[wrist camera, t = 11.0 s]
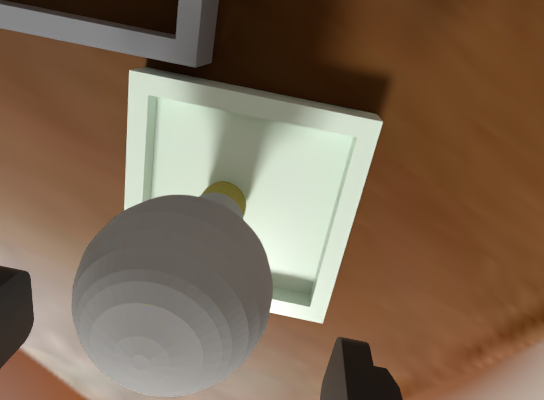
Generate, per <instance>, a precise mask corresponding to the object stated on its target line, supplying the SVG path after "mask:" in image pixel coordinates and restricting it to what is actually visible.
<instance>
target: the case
mask: <svg viewBox="0 0 544 400" xmlns="http://www.w3.org/2000/svg"><path fill="white" fill-rule="evenodd" d="M218 4H219V0H179V1H178V14H177V27H176V35H174V34H169V33H164V32H159V31H154V30H150V29H145V28H140V27H135V26H130V25H125V24H120V23H115V22H110V21H105V20H100V19H95V18H90V17H85V16H80V15H75V14H70V13H65V12H60V11H55V10H51V9H46V8H41V7H36V6H31V5H26V4H21V3H16V2H11V1H6V0H0V28H3V29H8V30H12V31H17V32H22V33H27V34H32V35H37V36H42V37H47V38H52V39H57V40H62V41H67V42H72V43H76V44H81V45H86V46H91V47H96V48H101V49H106V50H111V51H116V52H121V53H126V54H131V55H136V56H140V57H145V58H150V59H155V60H160V61H165V62H170V63H175V64H180V65H185V66H190V67H195V68H196V67H199V66H203V65H206V64H210V63H212V56H213V47H214V38H215V30H216V21H217V13H218Z"/></svg>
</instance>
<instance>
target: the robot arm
mask: <svg viewBox="0 0 544 400" xmlns="http://www.w3.org/2000/svg"><path fill="white" fill-rule="evenodd" d="M33 321H34V314H33V302H32V289H31V278H30V275H29V273H28V272H27V271H23V270H18V269H13V268H8V267H3V266H0V368H1V367H2V366H3V365H4V364H5V363H6V362H7V361H8V359H10V357H11V356H12V355H13V354H14V353H15V352H16V351H17V350H18V349H19V348H20V346H21V345H22V344H23V343H24V342H25V340H26V339H27V337H28V336H29V334H30V332H31V329H32V326H33ZM320 400H402V396H401V392H400V388H399V386H398V385H397V383H396V382H395V380H394V379H393V377H392V376H391V374H390V373H389V371H388V370H387V369H386V368H381V367H376V366H373V361H372V356H371V351H370V346H369V344H368V343H367V342H363V341H358V340H353V339H348V338H343V337H338V338H337V340H336V342H335V345H334V348H333V351H332V354H331V357H330V360H329V363H328V366H327V369H326V373H325V376H324V379H323V383H322V388H321V396H320Z"/></svg>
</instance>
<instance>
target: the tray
mask: <svg viewBox="0 0 544 400" xmlns="http://www.w3.org/2000/svg"><path fill="white" fill-rule="evenodd" d="M382 123H383V121H382V120H381V119H380V117H379V116H378V115H377V114H374V113H369V112H364V111H360V110H355V109H350V108H345V107H340V106H335V105H330V104H325V103H320V102H315V101H310V100H306V99H301V98H296V97H291V96H286V95H281V94H276V93H271V92H266V91H261V90H256V89H251V88H247V87H242V86H237V85H232V84H227V83H222V82H217V81H212V80H207V79H202V78H197V77H192V76H188V75H183V74H178V73H173V72H168V71H163V70H158V69H153V68H148V67H142V68H137V69H132V70H129V92H128V120H127V148H126V176H125V204H124V210H126V209H128V208H130V207H132V206H135V205H137V204H139V203H142V202H144V201H147V200H149V199H153V198H156V197H160V196H165V195H191V196H197V197H199V196H200V195H202V193H203V192H204V190H205V189H206V188H207V187H208V186H210V185H211V184H213V183H215V182H219V181H226V182H230V183H232V184H234V185H236V186H237V187H238V188H239V189H240V190H241V191H242V192H243V194H244V196H245V199H246V210H245V215H244V217H243V220H244V221H245V222H246V223H247V224H248V225H249V226H250V227H251V228H252V230H253V231H254V232H255V233H256V235H257V236H258V238H259V239H260V241H261V243H262V245H263V247H264V249H265V252H266V254H267V258H268V262H269V266H270V270H271V275H272V281H273V297H272V302H271V308H270V313H275V314H280V315H284V316H289V317H294V318H299V319H303V320H308V321H313V322H318V323H322V324H323V321H324V317H325V314H326V311H327V307H328V304H329V301H330V297H331V294H332V290H333V287H334V284H335V280H336V277H337V274H338V270H339V267H340V264H341V260H342V257H343V254H344V250H345V247H346V244H347V240H348V237H349V234H350V230H351V227H352V224H353V220H354V217H355V214H356V210H357V207H358V204H359V200H360V197H361V194H362V190H363V187H364V184H365V180H366V177H367V174H368V170H369V167H370V164H371V160H372V157H373V154H374V150H375V147H376V144H377V140H378V137H379V133H380V130H381V127H382Z"/></svg>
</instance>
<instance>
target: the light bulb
mask: <svg viewBox="0 0 544 400" xmlns="http://www.w3.org/2000/svg"><path fill="white" fill-rule="evenodd" d="M245 210H246V199H245V196H244V194H243V192H242V191H241V190H240V189H239V188H238V187H237V186H236V185H234V184H232V183H230V182H226V181H219V182H215V183H213V184H211V185H210V186H208V187H207V188H206V189H205V190H204V192H203V193H202V195H200V196H199V197H197V196H191V195H165V196H160V197H156V198H153V199H149V200H147V201H144V202H142V203H139V204H137V205H135V206H132V207H130V208H128V209H126V210H124V211H123V212H121V213H120V214H118V215H117V216H116V217H114V218H113V219H112V220H111V221H110V222H109V223H108V224H107V225H106V226H105V227H104V228H103V229H102V230H101V231H100V232H99V233H98V234H97V235H96V236H95V237H94V238H93V240H92V241H91V242H90V244H89V245H88V247H87V248H86V250H85V252H84V254H83V256H82V259H81V262H80V265H79V267H78V270H77V273H76V276H75V279H74V285H73V294H72V316H73V321H74V325H75V328H76V331H77V334H78V338H79V340H80V343H81V345H82V347H83V349H84V351H85V352H86V354H87V356H88V357H89V358H90V360H91V361H92V362H93V363H94V364H95V366H96V367H97V368H98V369H99V370H100V371H101V372H102V373H103V374H105V375H106V376H107V377H108V378H110V379H111V380H112V381H114V382H116V383H117V384H119V385H121V386H123V387H125V388H127V389H130V390H132V391H134V392H137V393H141V394H145V395H149V396H158V397H176V396H183V395H189V394H192V393H195V392H198V391H201V390H203V389H206V388H208V387H211V386H213V385H215V384H217V383H219V382H221V381H222V380H224V379H225V378H227V377H228V376H229V375H230V374H231V373H233V372H234V371H235V370H236V369H237V368H238V367H239V366H240V365H241V364H242V363H243V362H244V361H245V360H246V359H247V358H248V356H249V355H250V354H251V352H252V351H253V349H254V348H255V347H256V345H257V344H258V342H259V341H260V339H261V337H262V336H263V333H264V331H265V329H266V326H267V323H268V318H269V313H270V308H271V302H272V297H273V281H272V275H271V270H270V266H269V262H268V258H267V254H266V252H265V249H264V247H263V245H262V243H261V241H260V239H259V238H258V236H257V235H256V233H255V232H254V231H253V230H252V228H251V227H250V226H249V225H248V224H247V223H246V222H245V221H244V220H243V217H244V215H245Z"/></svg>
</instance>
